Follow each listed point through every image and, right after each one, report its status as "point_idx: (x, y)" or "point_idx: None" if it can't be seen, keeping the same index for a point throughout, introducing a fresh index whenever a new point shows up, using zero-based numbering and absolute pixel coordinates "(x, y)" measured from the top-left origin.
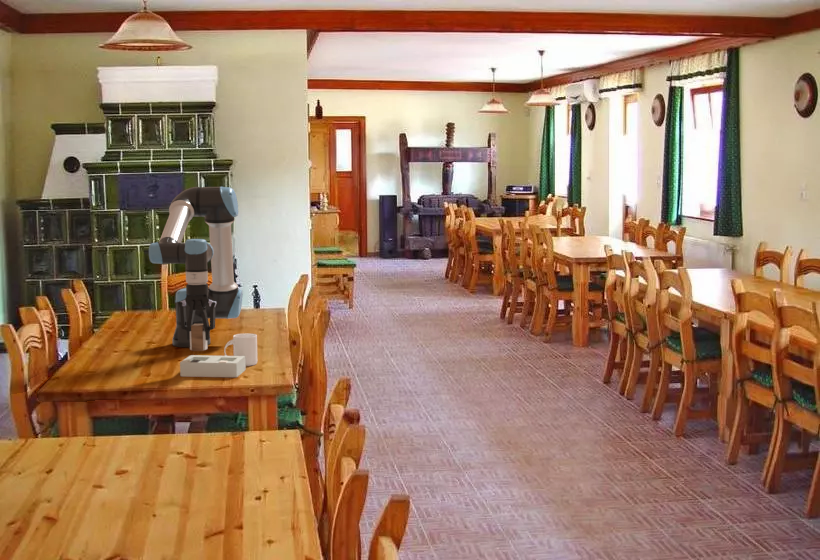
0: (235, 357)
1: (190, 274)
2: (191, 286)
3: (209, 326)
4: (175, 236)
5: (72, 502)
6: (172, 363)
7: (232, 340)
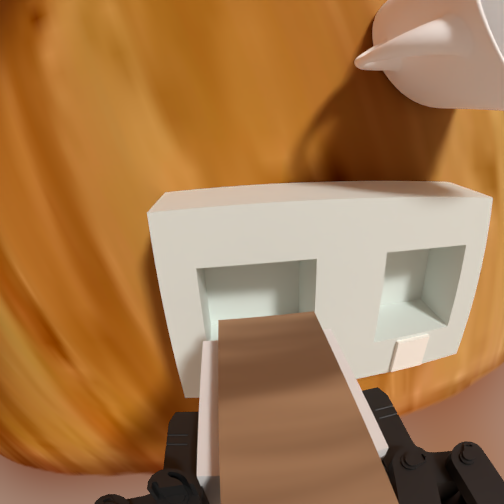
0: (457, 240)
1: None
2: None
3: (432, 478)
4: None
5: None
6: (23, 92)
7: (463, 47)
